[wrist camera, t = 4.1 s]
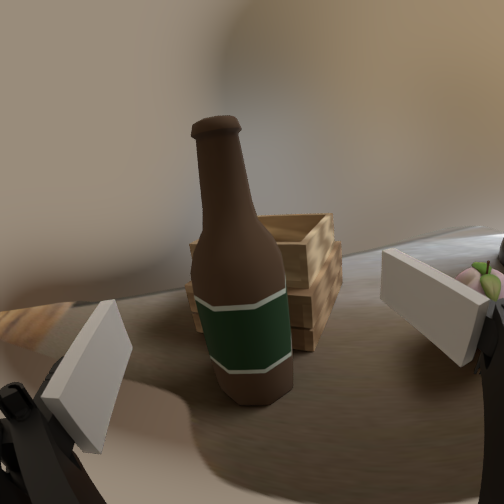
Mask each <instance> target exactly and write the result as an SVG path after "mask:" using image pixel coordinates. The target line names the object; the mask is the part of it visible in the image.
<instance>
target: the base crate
mask: <svg viewBox="0 0 504 504" xmlns="http://www.w3.org/2000/svg"><path fill="white" fill-rule="evenodd" d="M341 265H342V253H341V241H335V245H334V247H333V249H332V251H331V252H330V254H329V256H328V258H327V259H326V261H325V263H324V264H323V266H322V268H321V270H320V271H319V273H318V275H317V276H316V278H315V280H314V281H313V283H312V285H311V286H310V288H293V287H287V296H288V306H289V316H290V327H291V339H292V349H297V350H304V351H312V352H314V350H315V348H316V345H317V343H318V341H319V339H320V336H321V334H322V332H323V329H324V327H325V325H326V322H327V320H328V318H329V315H330V313H331V310H332V308H333V305H334V303H335V300H336V298H337V295H338V293H339V290H340V287H341V285H342V267H341ZM185 289H186V293H187V297H188V300H189V304H190V308H191V311H192V312H194V313H193V314H192V316H193V319H194V323H195V327H196V330H197V332H201V333H203V329H202V325H201V322H200V318H199V314H198V310H197V306H196V302H195V298H194V293H193V287H192V280H191V281H190V282H188V283H187V284H185Z"/></svg>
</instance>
